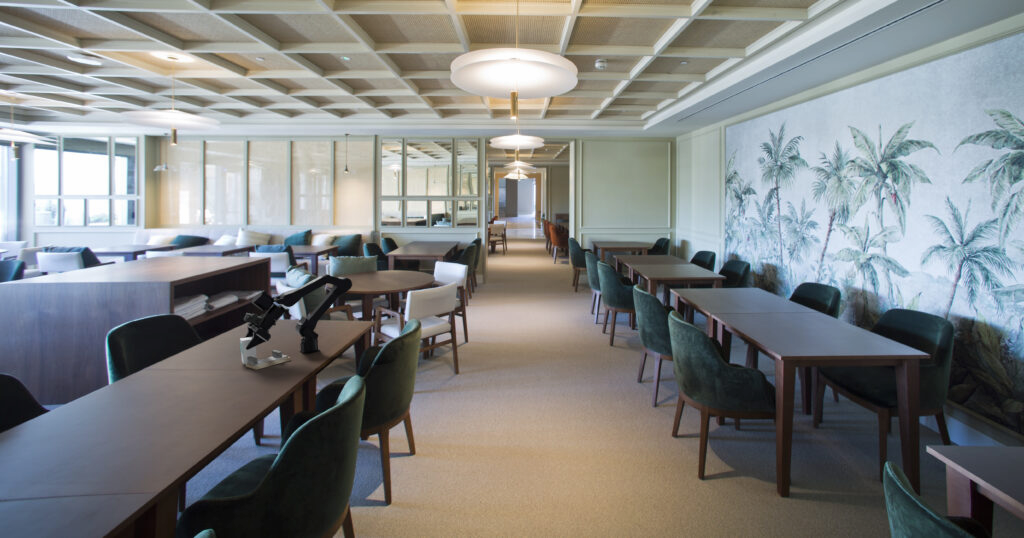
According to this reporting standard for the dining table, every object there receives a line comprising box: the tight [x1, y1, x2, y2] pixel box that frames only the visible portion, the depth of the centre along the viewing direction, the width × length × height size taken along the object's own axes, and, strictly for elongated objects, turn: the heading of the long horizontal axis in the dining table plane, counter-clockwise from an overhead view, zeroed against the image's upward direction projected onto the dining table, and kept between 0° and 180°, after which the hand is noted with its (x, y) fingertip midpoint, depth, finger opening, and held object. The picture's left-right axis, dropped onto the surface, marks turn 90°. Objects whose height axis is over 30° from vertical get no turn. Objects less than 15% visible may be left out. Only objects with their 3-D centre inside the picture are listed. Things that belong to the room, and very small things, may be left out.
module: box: [239, 337, 258, 365], centre depth 215 cm, size 5×4×10 cm
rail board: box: [245, 349, 291, 370], centre depth 213 cm, size 15×8×4 cm, turn 145°
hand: (244, 346), depth 214 cm, fingers open, 9 cm apart
